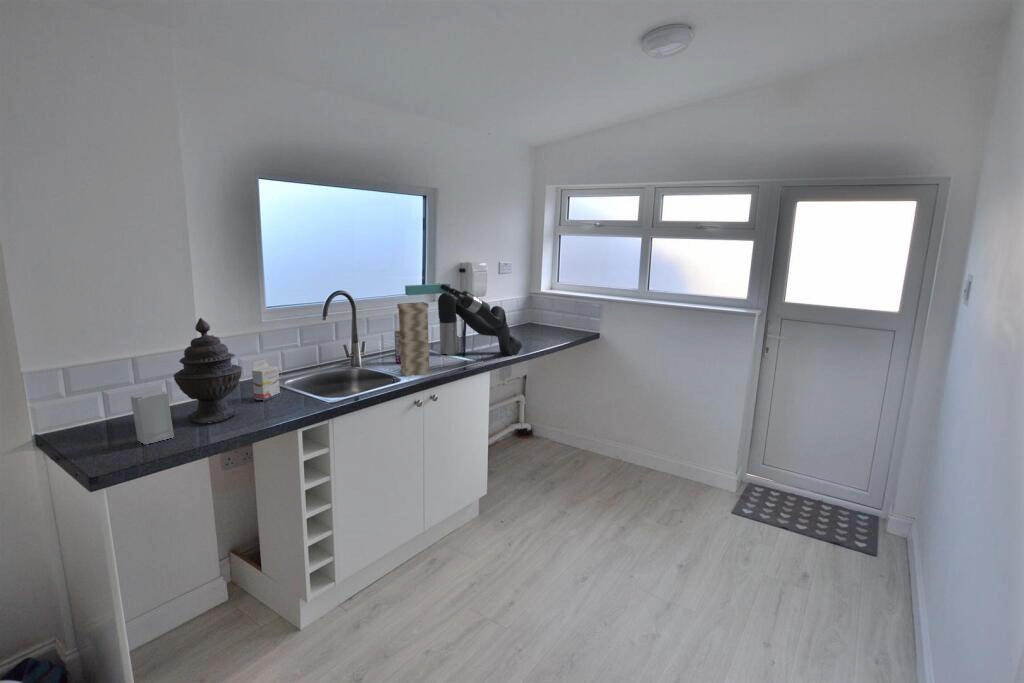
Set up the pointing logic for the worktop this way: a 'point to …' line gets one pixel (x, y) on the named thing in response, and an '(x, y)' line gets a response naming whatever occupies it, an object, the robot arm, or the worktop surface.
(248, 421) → the worktop surface
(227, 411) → the decorative urn
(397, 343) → the candy bar box
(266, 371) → the ink cartridge box
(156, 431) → the skincare box
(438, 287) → the rod
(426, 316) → the beige zigzag patterned block
